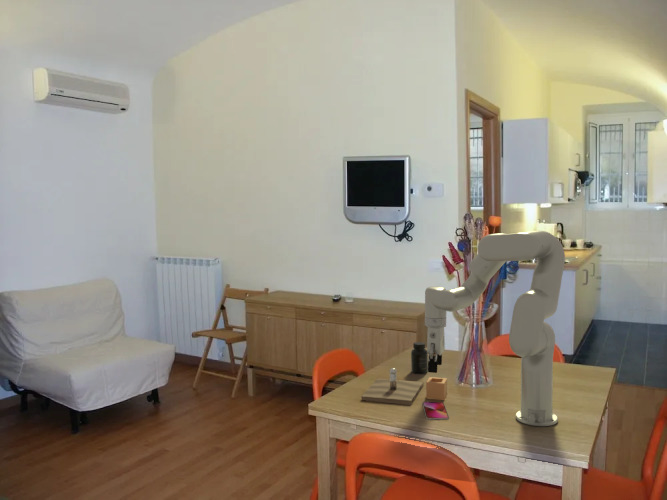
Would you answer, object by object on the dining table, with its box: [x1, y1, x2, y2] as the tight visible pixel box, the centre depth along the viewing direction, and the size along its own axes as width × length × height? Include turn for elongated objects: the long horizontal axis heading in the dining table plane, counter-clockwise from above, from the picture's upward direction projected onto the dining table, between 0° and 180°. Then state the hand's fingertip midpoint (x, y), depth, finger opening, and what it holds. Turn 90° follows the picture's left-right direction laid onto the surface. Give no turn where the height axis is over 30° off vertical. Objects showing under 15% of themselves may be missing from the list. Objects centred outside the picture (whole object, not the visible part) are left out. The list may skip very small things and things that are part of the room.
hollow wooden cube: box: [425, 376, 448, 401], centre depth 212 cm, size 6×6×6 cm
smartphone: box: [422, 401, 450, 421], centre depth 198 cm, size 7×1×15 cm
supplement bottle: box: [410, 341, 429, 375], centre depth 243 cm, size 7×7×12 cm
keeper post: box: [389, 367, 398, 390], centre depth 218 cm, size 3×3×8 cm
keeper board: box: [360, 378, 424, 406], centre depth 218 cm, size 22×18×2 cm
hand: (434, 368), depth 212 cm, fingers open, 9 cm apart
